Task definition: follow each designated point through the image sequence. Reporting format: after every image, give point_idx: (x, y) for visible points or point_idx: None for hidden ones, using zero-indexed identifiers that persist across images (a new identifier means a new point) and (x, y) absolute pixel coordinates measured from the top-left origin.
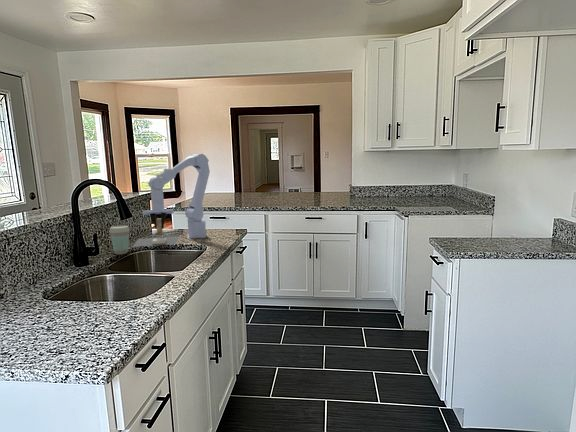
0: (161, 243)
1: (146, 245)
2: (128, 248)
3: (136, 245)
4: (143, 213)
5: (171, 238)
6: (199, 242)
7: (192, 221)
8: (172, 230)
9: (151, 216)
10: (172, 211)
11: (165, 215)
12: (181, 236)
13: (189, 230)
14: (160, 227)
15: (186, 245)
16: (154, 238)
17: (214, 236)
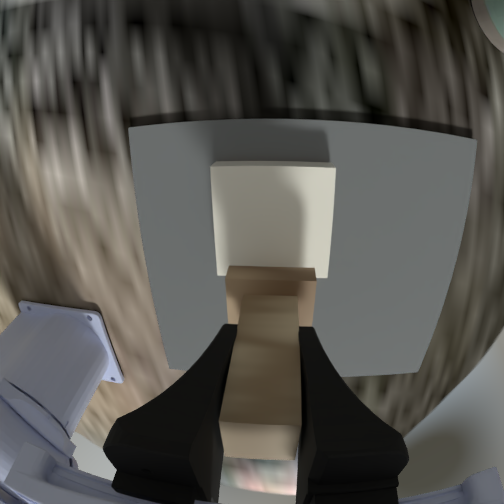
0: (250, 162)
1: (379, 140)
2: (483, 2)
3: (452, 172)
4: (495, 486)
5: (201, 335)
6: (12, 190)
7: (14, 387)
8: (241, 476)
9: (387, 443)
10: (18, 468)
11: (108, 434)
12: (160, 381)
13: (72, 359)
14: (250, 331)
15: (60, 110)
16: None
17: (3, 315)
